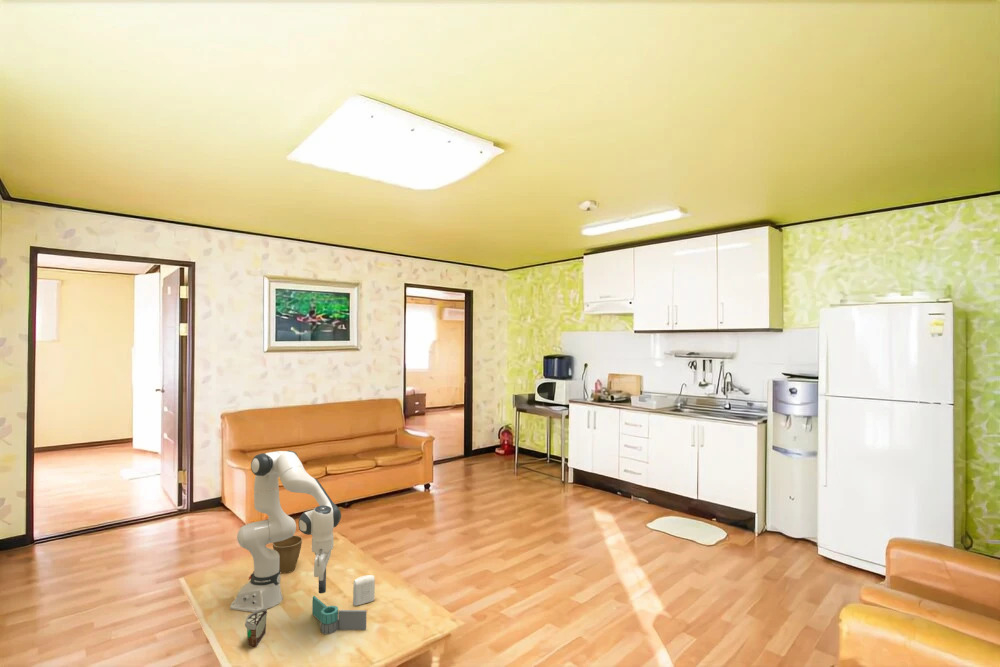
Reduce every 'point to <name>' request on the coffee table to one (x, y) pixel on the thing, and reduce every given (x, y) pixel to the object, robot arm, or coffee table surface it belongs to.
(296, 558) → the plant pot
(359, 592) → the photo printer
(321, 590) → the hinge pin
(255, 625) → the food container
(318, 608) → the teal hinge knuckle plate
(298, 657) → the coffee table surface
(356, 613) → the frame leaf
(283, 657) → the coffee table surface
